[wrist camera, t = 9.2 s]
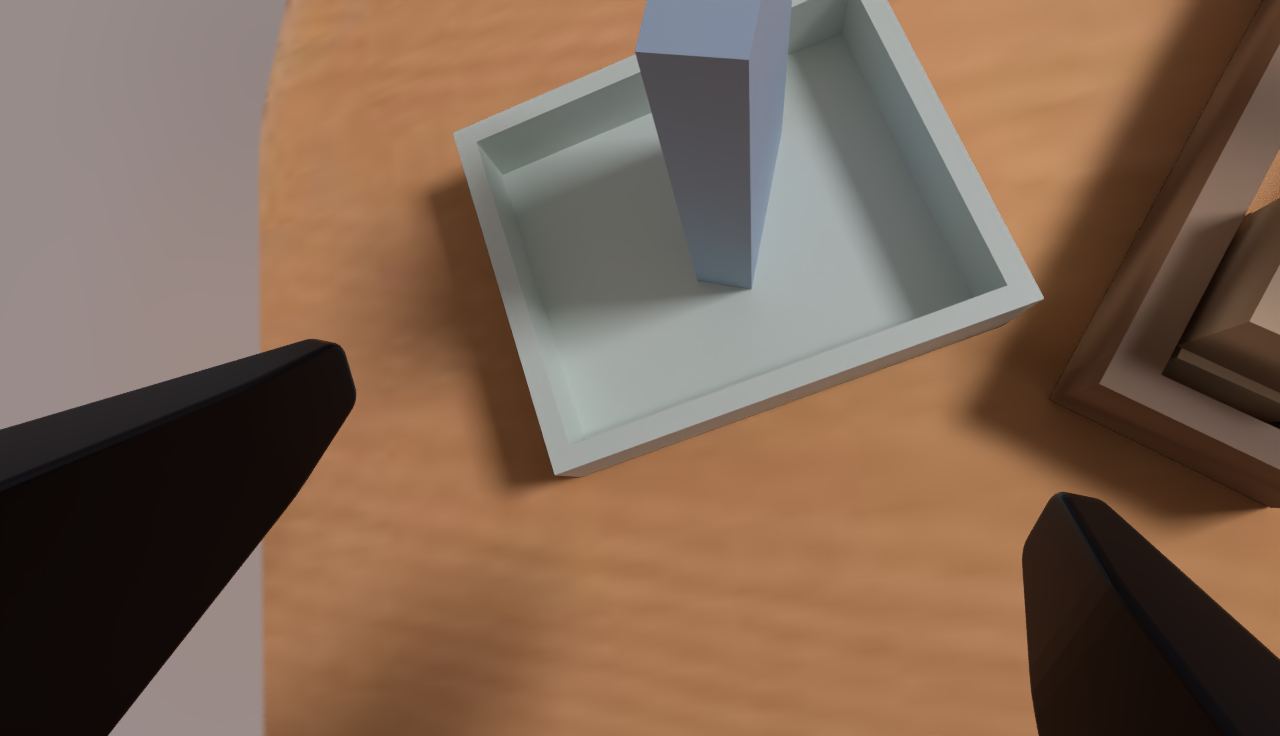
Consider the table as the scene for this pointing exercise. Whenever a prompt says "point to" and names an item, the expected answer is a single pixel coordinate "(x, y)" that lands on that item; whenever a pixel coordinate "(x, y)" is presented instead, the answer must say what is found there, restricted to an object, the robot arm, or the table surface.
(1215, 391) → the offcut
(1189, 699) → the robot arm
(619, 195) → the tray
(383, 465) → the table surface
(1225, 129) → the rack
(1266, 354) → the offcut
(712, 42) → the pale blue tall block
